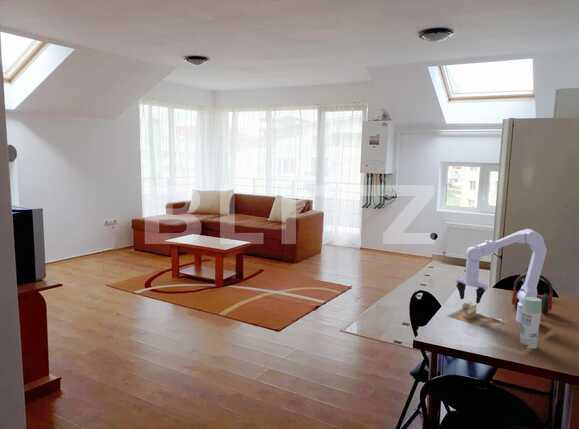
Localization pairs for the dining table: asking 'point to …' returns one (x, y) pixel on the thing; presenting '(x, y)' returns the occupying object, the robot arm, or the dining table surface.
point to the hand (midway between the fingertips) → (469, 300)
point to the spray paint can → (530, 321)
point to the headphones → (545, 299)
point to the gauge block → (469, 310)
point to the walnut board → (479, 320)
